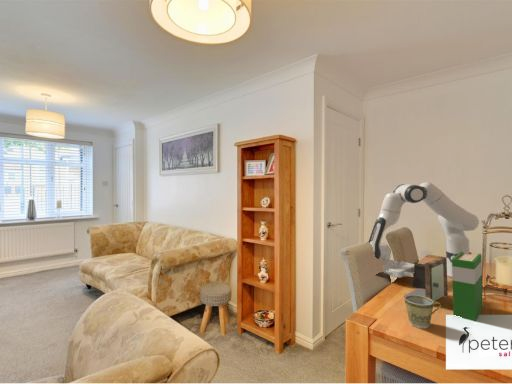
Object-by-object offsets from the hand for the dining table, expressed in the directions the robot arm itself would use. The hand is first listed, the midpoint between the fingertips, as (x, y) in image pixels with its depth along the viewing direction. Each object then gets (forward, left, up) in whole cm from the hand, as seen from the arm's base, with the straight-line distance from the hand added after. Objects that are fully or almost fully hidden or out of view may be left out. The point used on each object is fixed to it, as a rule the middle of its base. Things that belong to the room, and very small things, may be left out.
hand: (417, 273), depth 152 cm
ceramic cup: (+44, +22, -7) cm, 50 cm away
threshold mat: (+14, +9, -6) cm, 18 cm away
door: (+14, +16, -6) cm, 22 cm away
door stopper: (0, +2, -7) cm, 7 cm away
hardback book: (+17, +28, -7) cm, 34 cm away
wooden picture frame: (+14, +15, -6) cm, 22 cm away
